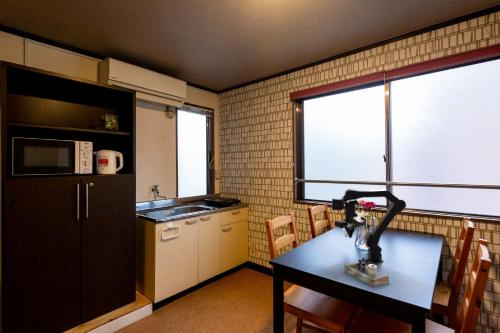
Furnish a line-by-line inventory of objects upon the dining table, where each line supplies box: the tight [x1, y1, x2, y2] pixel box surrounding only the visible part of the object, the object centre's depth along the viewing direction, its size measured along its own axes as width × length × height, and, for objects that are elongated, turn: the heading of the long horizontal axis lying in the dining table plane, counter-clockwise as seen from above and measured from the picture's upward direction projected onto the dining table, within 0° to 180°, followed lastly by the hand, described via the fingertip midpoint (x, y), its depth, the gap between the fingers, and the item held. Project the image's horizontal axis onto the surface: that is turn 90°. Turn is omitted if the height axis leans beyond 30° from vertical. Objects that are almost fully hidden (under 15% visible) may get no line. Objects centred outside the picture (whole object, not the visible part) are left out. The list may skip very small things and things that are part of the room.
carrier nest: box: [344, 262, 390, 288], centre depth 119 cm, size 17×10×3 cm, turn 22°
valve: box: [356, 257, 379, 278], centre depth 120 cm, size 7×7×12 cm
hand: (350, 237), depth 142 cm, fingers closed
